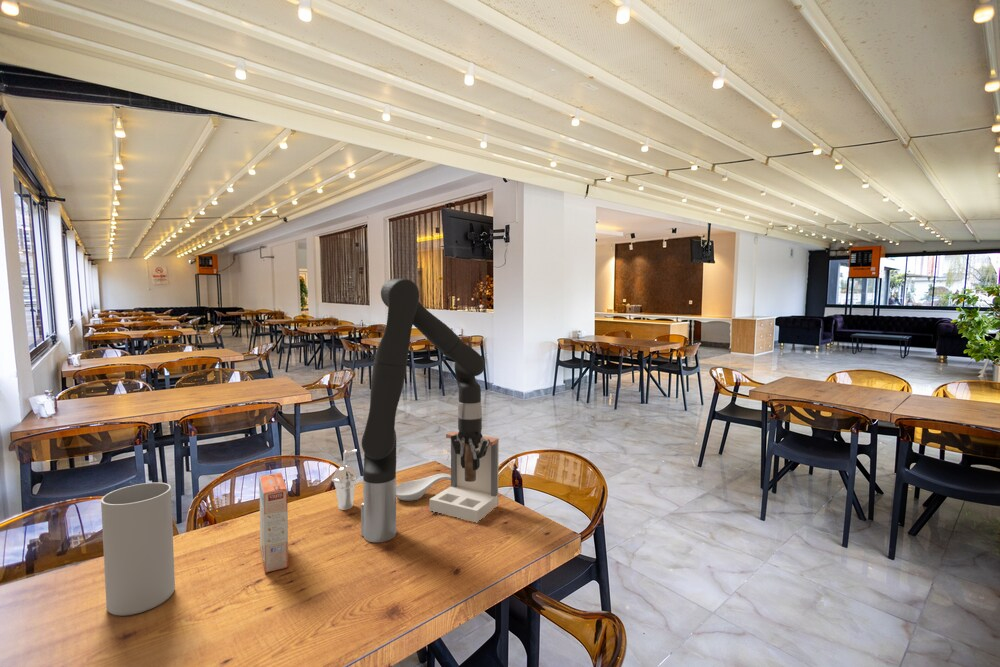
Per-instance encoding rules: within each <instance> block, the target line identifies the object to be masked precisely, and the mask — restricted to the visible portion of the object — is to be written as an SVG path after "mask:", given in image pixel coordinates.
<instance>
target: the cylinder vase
mask: <svg viewBox="0 0 1000 667" xmlns="http://www.w3.org/2000/svg"><path fill="white" fill-rule="evenodd" d="M100 508H101V526H102V527H101V529H102V546H103V548H102V549H103V561H104V562H103V566H104V568H103V569H104V582H105V583H104V585H105V605H106V610H107V611H108V613H109V614H111V615H114V616H122V617H123V616H133V615H136V614H140V613H143V612H147V611H150V610H151V609H154V608H156V607H158V606H160V605H161V604H163V603H164V602H166V601H167V600H168V599H170V597H171V596H172V594H174V592H175V589H176V581H175V578H176V577H175V556H174V555H175V553H174V531H173V530H174V529H173V509H172V508H173V506H172V487H171V484H168V483H165V482H146V483H145V482H144V483H138V484H133V485H129V486H125V487H120V488H118V489H115V490H112V491H111V492H109V493H106V494H105V495H104V496H102V497H101V499H100Z"/></svg>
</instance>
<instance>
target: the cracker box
mask: <svg viewBox="0 0 1000 667" xmlns="http://www.w3.org/2000/svg"><path fill="white" fill-rule="evenodd" d="M258 483H259V484H258V486H259V487H258V488H259V493H258V494H259V536H260V538H259V539H260V540H259V541H260V543H259V544H260V545H259V546H260V547H259V548H260V549H259V550H260V554H261V555H260V556H261V559H262V560H261V561H262V565H263V570H264V573H265V574H267V573H270V572H274V571H279V570H283V569H288V568H289V522H288V521H289V519H288V518H289V517H288V512H289V511H288V509H289V506H288V504H289V503H288V496H289V495H288V493H289V492H288V488H287V485H286V483H285V480H284V477H283V474H282V473H281V472H278V473H277V472H276V473H271V474H265V475H260V476H259V477H258Z"/></svg>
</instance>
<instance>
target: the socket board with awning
mask: <svg viewBox="0 0 1000 667" xmlns="http://www.w3.org/2000/svg"><path fill="white" fill-rule="evenodd" d="M458 433H459V431H456V430H453V431H451V432H447V433H446V434H445V438H446V439H450V475H451V480H450V486H449V487H447V488H445V489H444V490H442V491H441V492H439V493H437V494H435V495H434V496H432V497H431V498H429V500H428V501H429V503H428V504H429V506H428V507H429V508H428V509H429V512H431V511H433V512H432V513H435V512H438V513H437V514H439V513H442V514H441V515H443V514H446V515H450V516H454V517H457V518H456V519H458V518H461V519H460V520H462V519H465V520H464V521H466V520H469V521H473V522H476V523H475V524H478V523H479V522H480V521H479V520H481V519H482V518H483V517H484V516H485V515H486V514H488V513H489V512H490V511H491V510H492V509H493V508H494V507H496V506H497V505H498V506H499V458H500V457H499V455H500V454H499V451H500V450H499V446H500V445H499V444H500V442H499V440H500V439H499V438H498V437H493V436H492V437H491V436H486V435H482V436H483V438H484V439H486V440H487V439H489V440H490V443H489V446H488V449H487V452H486V455H485V456H483V457H482V458H480V467H479V468H478V469H477V470H476V480H475V481H473V482H467V481H465V468H462V466H461V456H460V455H459V454H456V453H455V450H454V447H453V444H452V441H451V436H453V435H455V434H458ZM459 441H460V439H459ZM460 444H461V441H460ZM479 445H480V449H481V447H482V445H481V441H480V443H479ZM489 514H490V513H489ZM489 514H488V515H489ZM446 515H445V516H446ZM450 516H449V517H450ZM454 517H453V518H454ZM484 518H485V517H484ZM484 518H483V519H484ZM483 519H482V520H483ZM482 520H481V521H482ZM469 521H468V522H469ZM478 521H479V522H478ZM473 522H472V523H473ZM477 522H478V523H477Z"/></svg>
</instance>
